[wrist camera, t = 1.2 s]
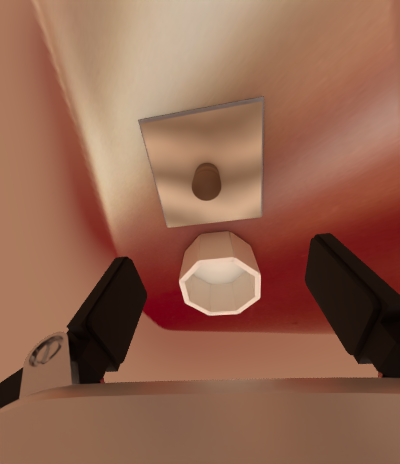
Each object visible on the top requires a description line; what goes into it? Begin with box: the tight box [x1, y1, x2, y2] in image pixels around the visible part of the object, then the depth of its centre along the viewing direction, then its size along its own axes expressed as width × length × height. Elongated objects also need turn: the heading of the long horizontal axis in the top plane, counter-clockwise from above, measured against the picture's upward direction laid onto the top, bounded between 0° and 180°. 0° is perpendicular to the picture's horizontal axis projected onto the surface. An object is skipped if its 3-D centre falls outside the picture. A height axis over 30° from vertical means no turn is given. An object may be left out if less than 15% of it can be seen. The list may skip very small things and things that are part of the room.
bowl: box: [179, 231, 261, 315], centre depth 30 cm, size 12×12×7 cm
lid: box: [140, 101, 262, 228], centre depth 22 cm, size 14×14×6 cm
